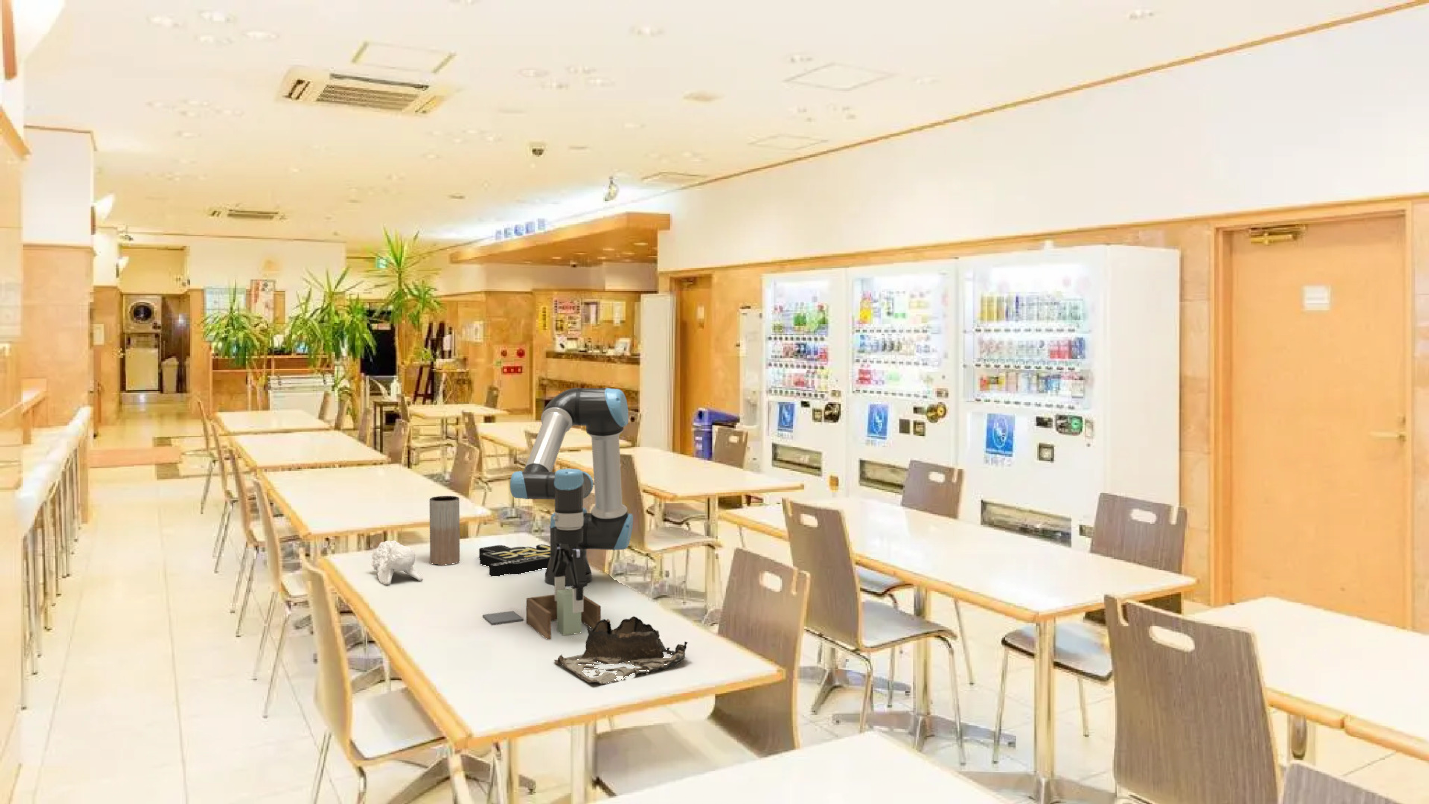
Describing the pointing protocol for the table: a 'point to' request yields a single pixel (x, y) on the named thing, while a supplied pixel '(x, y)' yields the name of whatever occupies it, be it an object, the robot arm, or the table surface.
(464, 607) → the table surface
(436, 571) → the table surface
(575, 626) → the block
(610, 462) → the robot arm
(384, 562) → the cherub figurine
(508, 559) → the sign
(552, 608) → the brown wooden frame
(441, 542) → the planter
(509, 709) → the table surface
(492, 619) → the mat
